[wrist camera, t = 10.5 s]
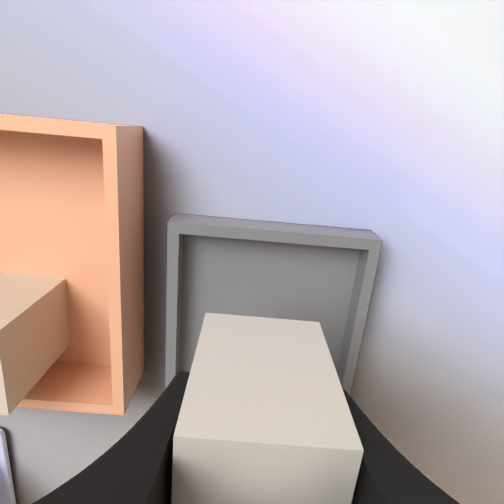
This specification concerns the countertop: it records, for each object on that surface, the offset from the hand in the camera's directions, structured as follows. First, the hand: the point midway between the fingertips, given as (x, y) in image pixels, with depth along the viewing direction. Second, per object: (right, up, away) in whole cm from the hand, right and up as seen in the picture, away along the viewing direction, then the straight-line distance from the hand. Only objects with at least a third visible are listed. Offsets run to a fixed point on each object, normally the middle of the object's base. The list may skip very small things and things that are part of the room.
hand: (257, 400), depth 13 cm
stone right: (0, +1, +2) cm, 2 cm away
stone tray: (0, -1, +10) cm, 11 cm away
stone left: (-14, +2, +9) cm, 16 cm away
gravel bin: (-13, +5, +9) cm, 17 cm away
